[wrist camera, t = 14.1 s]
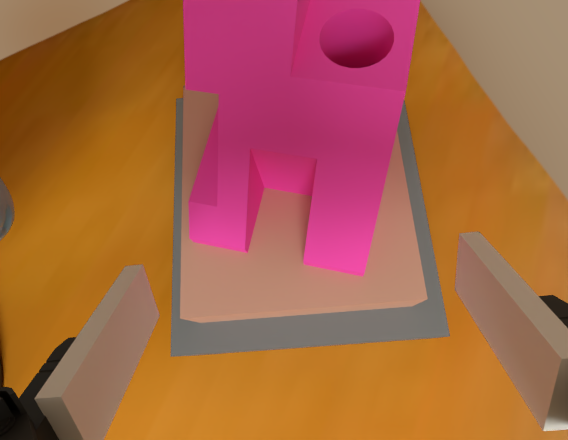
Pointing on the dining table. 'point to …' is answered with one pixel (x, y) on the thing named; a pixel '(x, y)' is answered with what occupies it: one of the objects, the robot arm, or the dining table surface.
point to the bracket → (298, 115)
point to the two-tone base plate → (299, 265)
